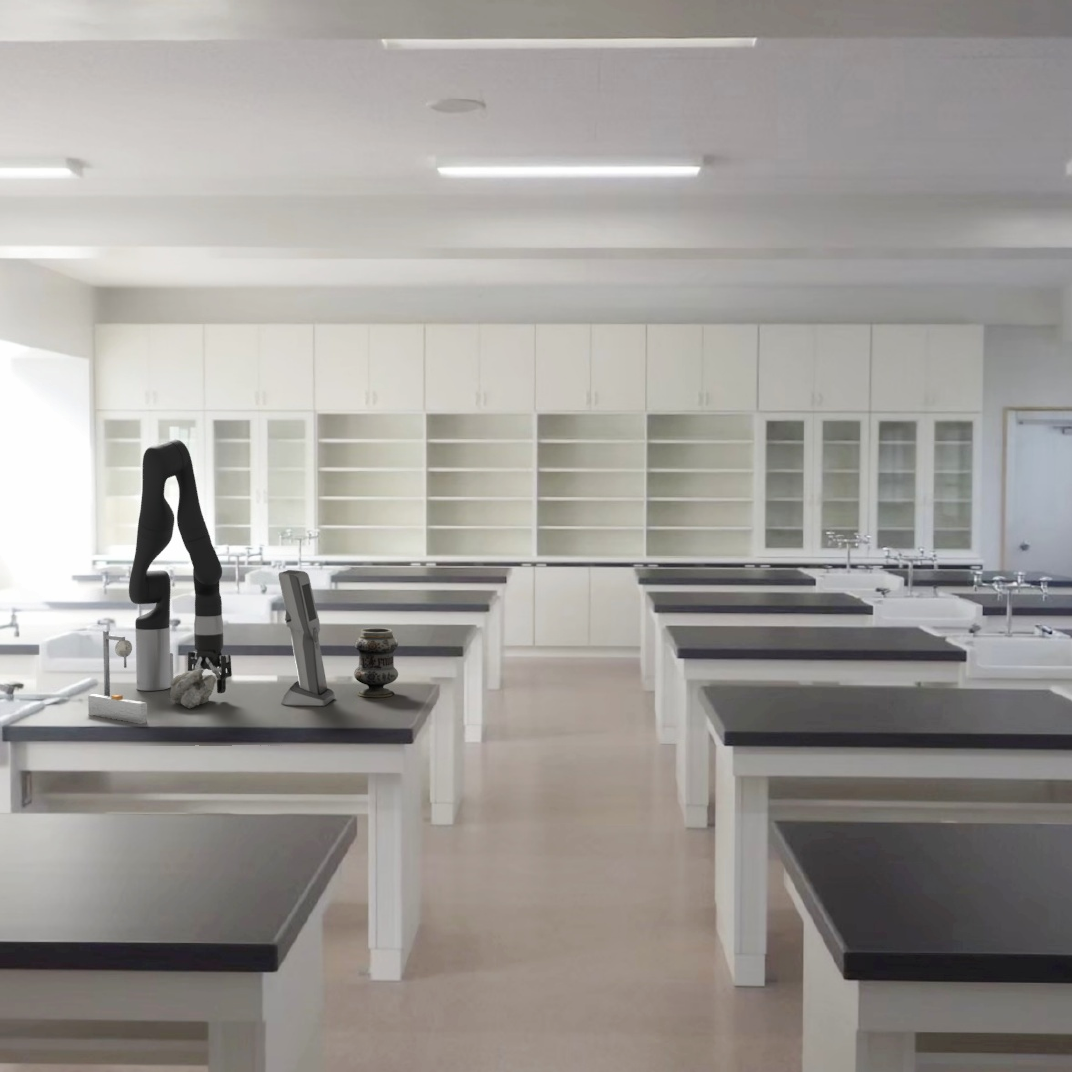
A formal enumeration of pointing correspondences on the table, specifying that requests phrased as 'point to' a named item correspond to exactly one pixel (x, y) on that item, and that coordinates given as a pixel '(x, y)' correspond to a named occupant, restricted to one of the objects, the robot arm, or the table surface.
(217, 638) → the robot arm
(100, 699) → the rail
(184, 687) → the mineral
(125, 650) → the dial indicator stand
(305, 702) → the thermal camera
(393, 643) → the apothecary jar
